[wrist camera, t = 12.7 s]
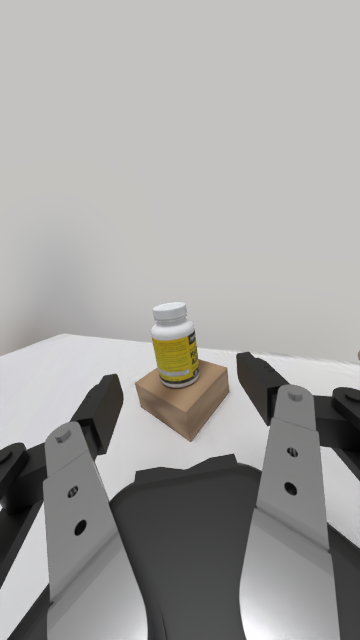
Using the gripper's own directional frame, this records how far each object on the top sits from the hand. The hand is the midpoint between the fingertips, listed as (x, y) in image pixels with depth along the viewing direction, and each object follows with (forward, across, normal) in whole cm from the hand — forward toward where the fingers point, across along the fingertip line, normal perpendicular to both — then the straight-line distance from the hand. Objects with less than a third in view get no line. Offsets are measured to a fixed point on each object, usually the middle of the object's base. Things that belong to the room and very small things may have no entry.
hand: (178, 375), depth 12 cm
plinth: (+10, 0, +11) cm, 15 cm away
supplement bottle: (+10, 0, +7) cm, 13 cm away
